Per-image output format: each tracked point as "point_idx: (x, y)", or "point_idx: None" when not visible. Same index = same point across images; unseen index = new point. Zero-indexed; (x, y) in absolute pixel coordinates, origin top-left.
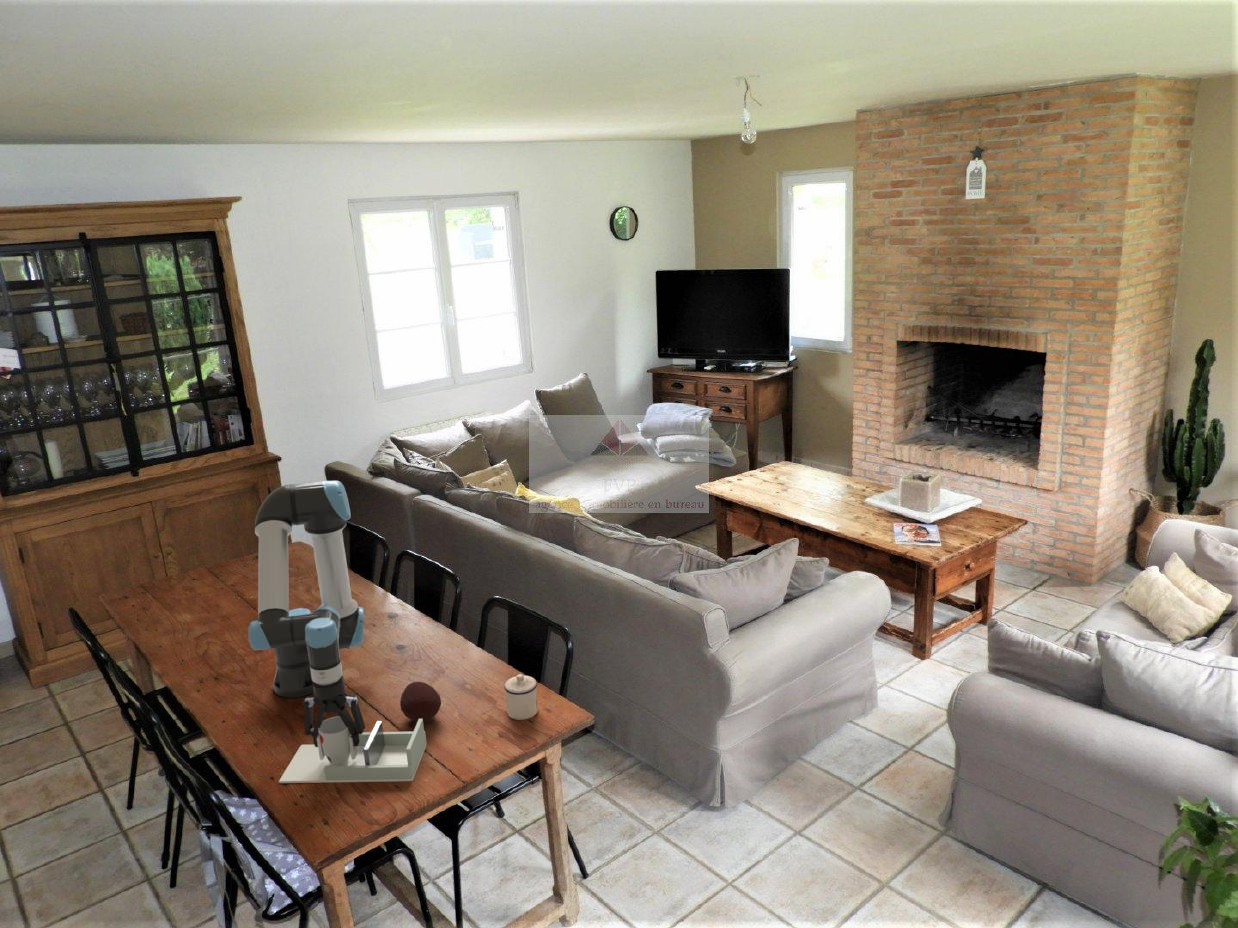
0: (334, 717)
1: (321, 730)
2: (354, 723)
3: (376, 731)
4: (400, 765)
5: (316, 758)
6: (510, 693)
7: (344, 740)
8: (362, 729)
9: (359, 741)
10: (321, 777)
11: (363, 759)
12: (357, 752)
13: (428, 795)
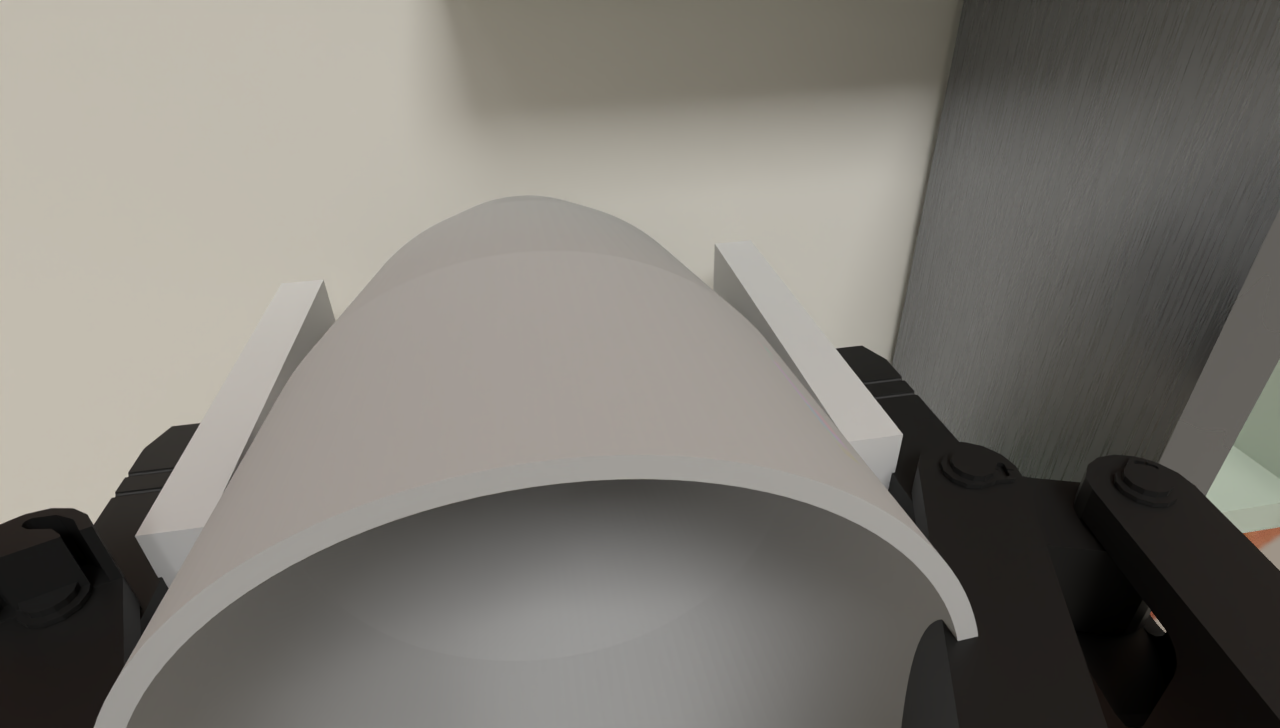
0: (361, 523)
1: (213, 668)
2: (1057, 627)
3: (1275, 362)
4: (1243, 513)
5: (186, 250)
6: None
7: (765, 634)
8: (1159, 627)
9: (888, 368)
10: None
11: (793, 233)
12: (754, 251)
13: (1263, 531)
